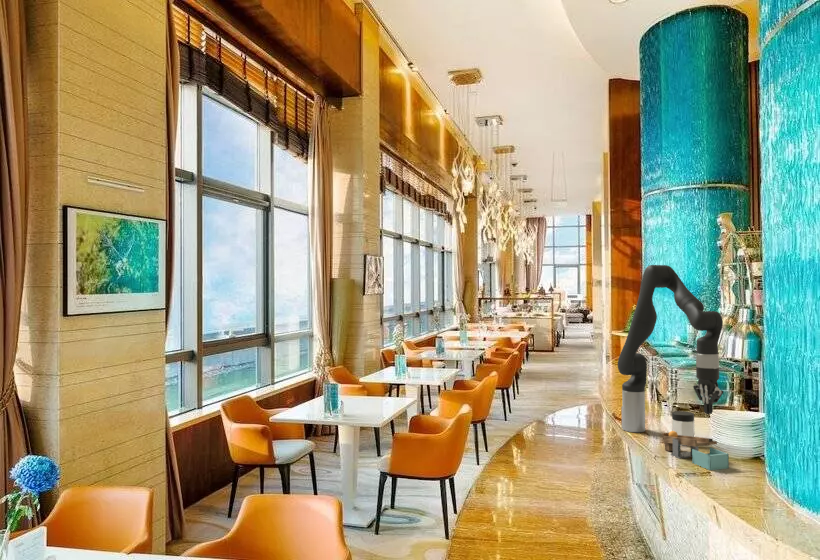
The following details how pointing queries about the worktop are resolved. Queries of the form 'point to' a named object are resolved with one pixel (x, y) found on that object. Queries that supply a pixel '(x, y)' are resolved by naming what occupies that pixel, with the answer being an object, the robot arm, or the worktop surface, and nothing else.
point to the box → (711, 459)
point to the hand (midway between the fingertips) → (708, 413)
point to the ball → (673, 434)
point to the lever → (686, 441)
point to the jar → (683, 423)
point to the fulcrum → (677, 450)
